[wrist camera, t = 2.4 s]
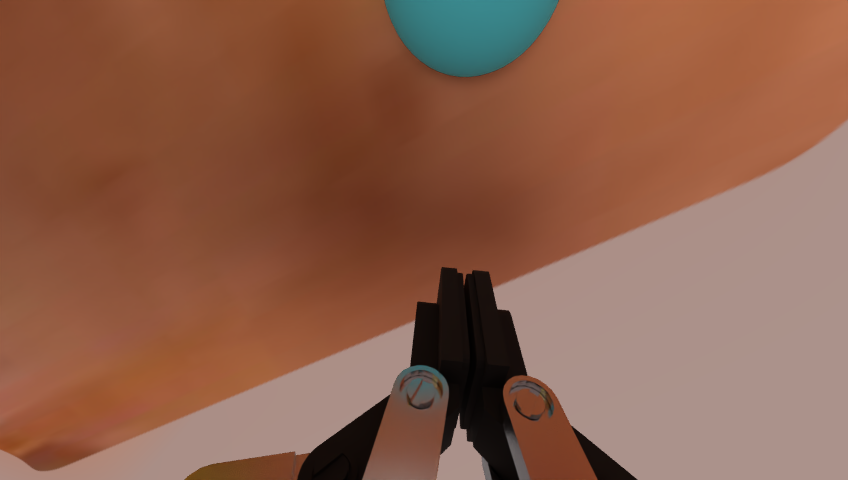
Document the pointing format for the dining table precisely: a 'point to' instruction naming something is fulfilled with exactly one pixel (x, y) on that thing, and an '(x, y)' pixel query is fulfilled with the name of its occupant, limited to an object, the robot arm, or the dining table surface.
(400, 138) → the dining table surface
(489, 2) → the ball
